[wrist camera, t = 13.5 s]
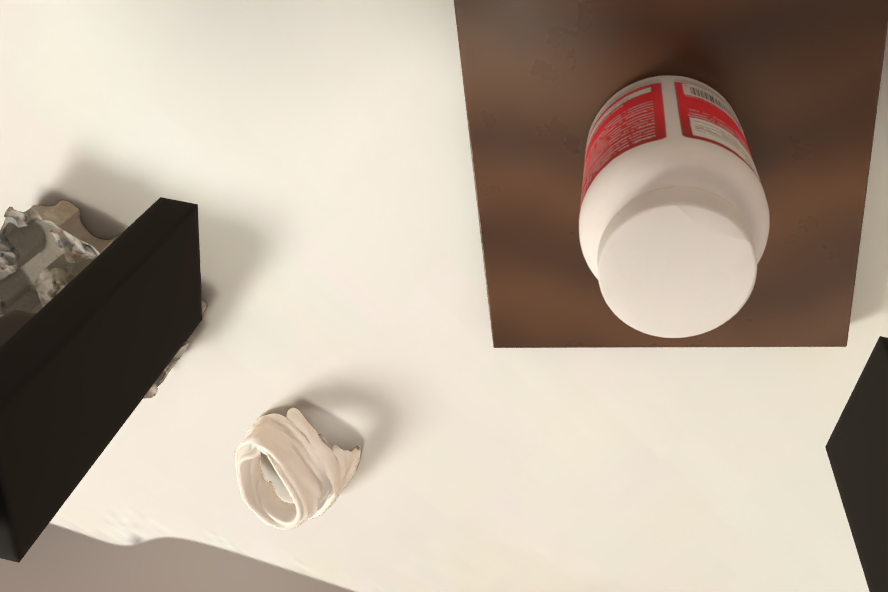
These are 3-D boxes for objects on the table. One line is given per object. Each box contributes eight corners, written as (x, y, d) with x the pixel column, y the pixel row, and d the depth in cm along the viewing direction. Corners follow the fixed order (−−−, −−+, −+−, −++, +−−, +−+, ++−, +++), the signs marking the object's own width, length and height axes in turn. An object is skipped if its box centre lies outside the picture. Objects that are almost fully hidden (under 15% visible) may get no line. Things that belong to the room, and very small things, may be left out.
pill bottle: (584, 211, 37) (569, 353, 28) (589, 70, 34) (574, 177, 25) (732, 215, 36) (769, 365, 27) (751, 71, 33) (801, 182, 23)
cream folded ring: (331, 507, 53) (312, 574, 49) (228, 467, 52) (200, 533, 48) (376, 427, 48) (359, 494, 44) (264, 382, 47) (236, 447, 43)
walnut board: (449, -103, 33) (442, -99, 32) (898, -158, 30) (911, -155, 28) (497, 331, 43) (493, 348, 42) (839, 329, 39) (847, 346, 38)
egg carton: (225, 291, 45) (191, 334, 41) (169, 379, 49) (135, 424, 45) (44, 174, 43) (-7, 208, 40) (1, 275, 47) (-48, 314, 43)
